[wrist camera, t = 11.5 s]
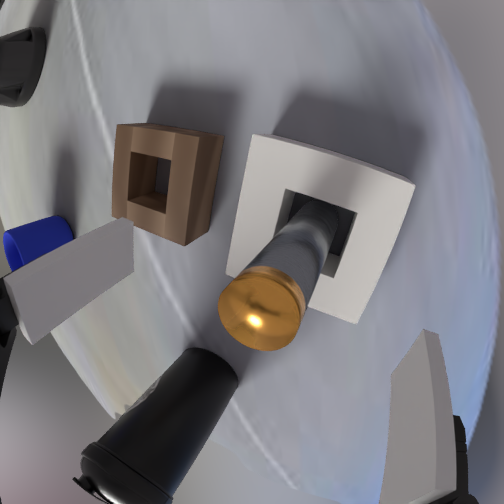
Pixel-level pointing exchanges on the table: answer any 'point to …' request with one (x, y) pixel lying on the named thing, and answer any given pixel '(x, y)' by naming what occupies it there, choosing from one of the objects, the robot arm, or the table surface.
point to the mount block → (180, 181)
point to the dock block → (330, 190)
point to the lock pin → (279, 280)
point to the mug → (35, 240)
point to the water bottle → (160, 433)
